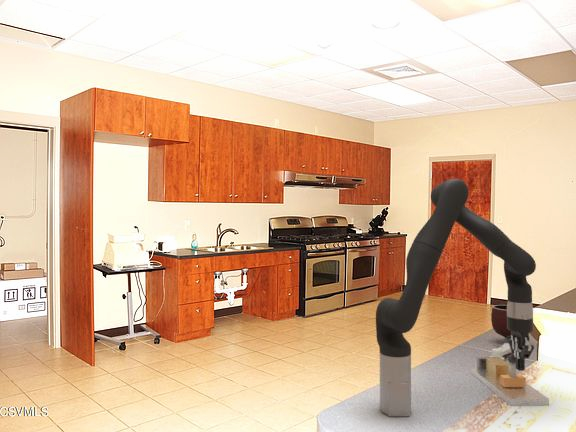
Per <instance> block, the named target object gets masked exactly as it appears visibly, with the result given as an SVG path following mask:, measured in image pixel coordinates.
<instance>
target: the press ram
mask: <svg viewBox="0 0 576 432" xmlns="http://www.w3.org/2000/svg"><path fill="white" fill-rule="evenodd" d="M507 362H508V364H509V375H500V384H501V385H502V386H503V387H526V383H527V382H526V380H527V379H526V377H525V376H523V375H522V374H517V369H516V357H515V356H514V354H512V353H510V354H509V355H508V356H507Z"/></svg>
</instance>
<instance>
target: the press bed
mask: <svg viewBox="0 0 576 432" xmlns="http://www.w3.org/2000/svg"><path fill="white" fill-rule="evenodd" d="M486 358H499V357H488V356H487V357H486V356H485V357H484V356H480V357H479V356H478V357H476V367H470V374H471V375H473V376H474V377H475V378H477V380H479V381H480V382H481V383H482V384H483V385H485V386H486V387H487V388H489V389H490V390H491V391H492V392H493V393H495V395H497V397H499V398H500V399H502V400H503V401H504V402H505V403H507V405H509V406H549V405H550V399H549V398H548V396H546V395H545V394H543V393H541V392H540V391H538V389H535V388H534V387H532V386H531V385H530V384H528V383H527V382H526V387H503V386H502V385H501V384H500V380H496V379H494V378H493V377H492V376H491V375H489V374H488V373H487V372H486Z"/></svg>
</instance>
